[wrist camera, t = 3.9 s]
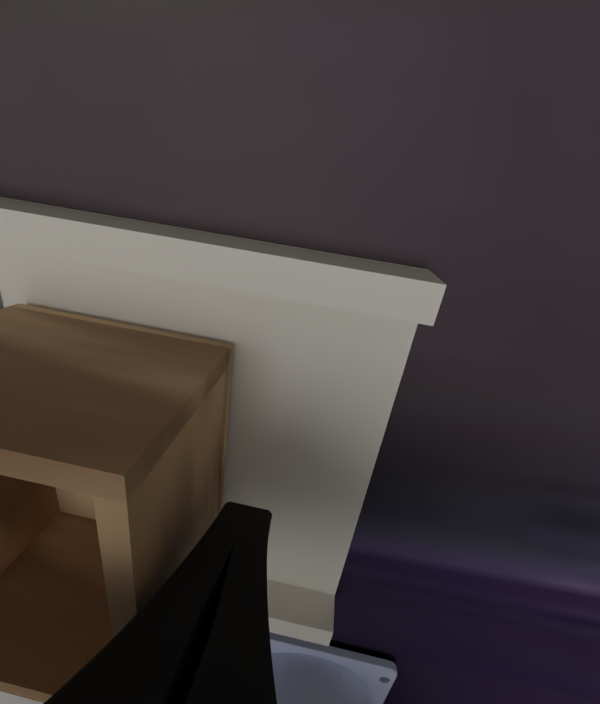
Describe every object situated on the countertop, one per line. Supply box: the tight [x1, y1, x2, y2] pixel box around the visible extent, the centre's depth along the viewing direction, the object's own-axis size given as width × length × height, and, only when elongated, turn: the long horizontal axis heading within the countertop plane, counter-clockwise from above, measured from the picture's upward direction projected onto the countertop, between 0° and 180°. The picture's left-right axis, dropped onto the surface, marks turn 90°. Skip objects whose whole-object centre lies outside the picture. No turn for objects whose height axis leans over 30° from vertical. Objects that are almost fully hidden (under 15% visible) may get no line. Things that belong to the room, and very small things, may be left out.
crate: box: [0, 303, 233, 703], centre depth 10 cm, size 9×7×6 cm
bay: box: [0, 197, 447, 646], centre depth 12 cm, size 15×20×2 cm
